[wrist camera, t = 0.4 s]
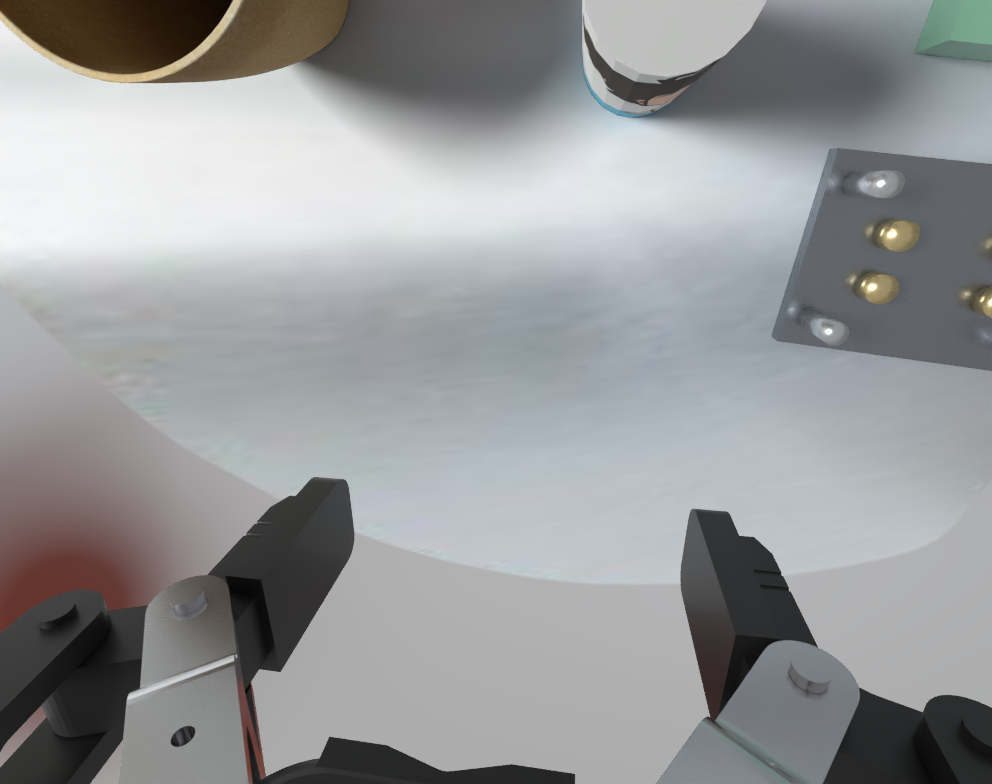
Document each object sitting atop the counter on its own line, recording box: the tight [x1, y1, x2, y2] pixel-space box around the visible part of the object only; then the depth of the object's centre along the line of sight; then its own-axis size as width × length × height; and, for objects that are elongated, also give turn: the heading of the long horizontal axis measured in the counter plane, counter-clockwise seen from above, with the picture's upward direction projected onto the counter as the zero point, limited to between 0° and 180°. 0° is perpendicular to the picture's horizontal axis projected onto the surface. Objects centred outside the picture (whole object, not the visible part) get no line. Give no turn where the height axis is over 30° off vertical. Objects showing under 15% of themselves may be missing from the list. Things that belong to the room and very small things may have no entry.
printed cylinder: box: [582, 0, 767, 117], centre depth 26 cm, size 7×7×15 cm
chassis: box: [772, 149, 992, 371], centre depth 32 cm, size 16×12×5 cm
